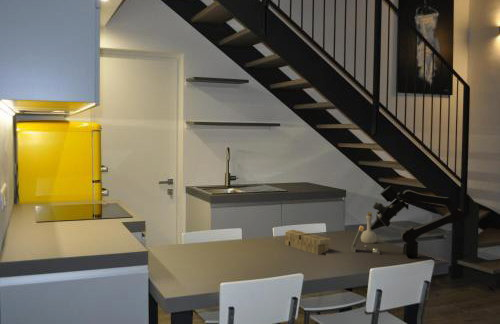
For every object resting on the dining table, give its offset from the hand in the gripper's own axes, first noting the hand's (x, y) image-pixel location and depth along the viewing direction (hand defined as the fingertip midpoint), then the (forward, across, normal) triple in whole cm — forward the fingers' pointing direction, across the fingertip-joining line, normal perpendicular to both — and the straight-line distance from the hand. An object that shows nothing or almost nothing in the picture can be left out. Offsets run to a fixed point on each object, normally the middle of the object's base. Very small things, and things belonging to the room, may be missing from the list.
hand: (370, 228), depth 267 cm
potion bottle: (+9, -25, +10) cm, 29 cm away
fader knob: (+10, -5, +7) cm, 13 cm away
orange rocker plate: (+14, 0, +1) cm, 14 cm away
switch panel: (+12, 0, +7) cm, 13 cm away
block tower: (+33, -3, -14) cm, 36 cm away
